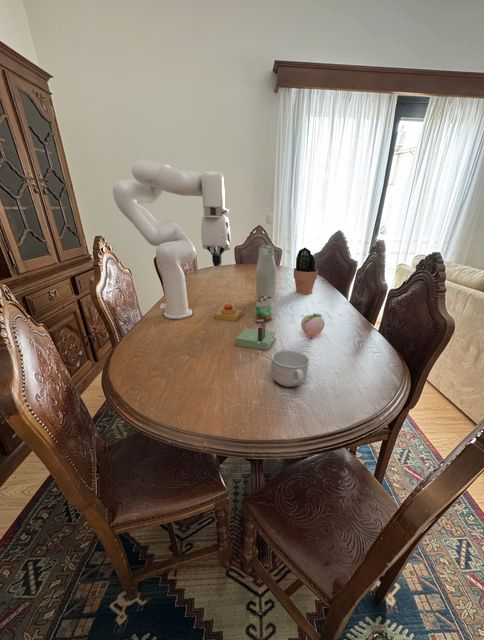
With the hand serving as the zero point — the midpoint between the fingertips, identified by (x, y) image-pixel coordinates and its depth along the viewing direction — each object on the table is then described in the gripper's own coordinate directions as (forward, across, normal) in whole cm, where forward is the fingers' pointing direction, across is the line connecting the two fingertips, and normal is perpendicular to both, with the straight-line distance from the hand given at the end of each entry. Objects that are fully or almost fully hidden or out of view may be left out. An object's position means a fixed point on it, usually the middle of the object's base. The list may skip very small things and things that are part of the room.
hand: (217, 265), depth 109 cm
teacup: (+25, -37, +33) cm, 56 cm away
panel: (+25, -20, +11) cm, 34 cm away
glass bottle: (+25, -8, -40) cm, 48 cm away
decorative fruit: (+25, -38, -2) cm, 46 cm away
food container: (+25, -16, -13) cm, 33 cm away
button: (+22, +1, -11) cm, 24 cm away
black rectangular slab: (+22, -22, +12) cm, 34 cm away
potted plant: (+25, -25, -62) cm, 71 cm away
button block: (+25, +1, -11) cm, 27 cm away
